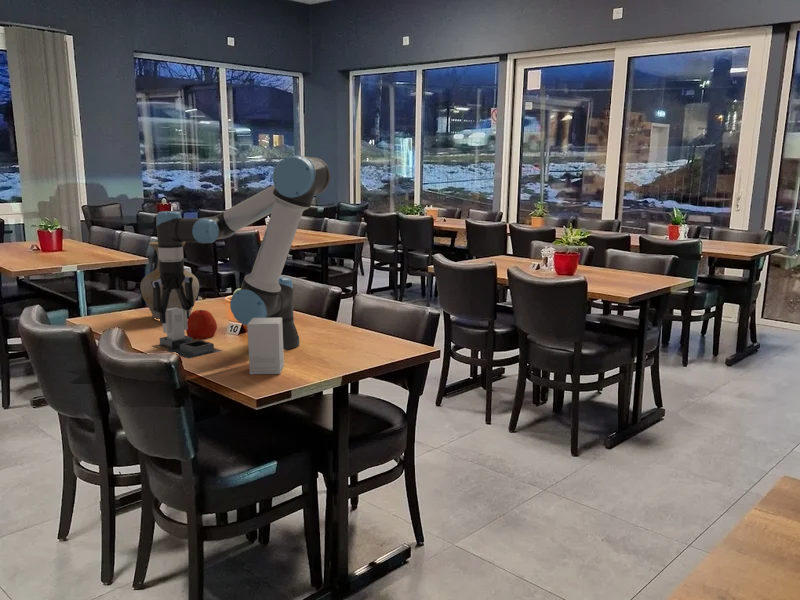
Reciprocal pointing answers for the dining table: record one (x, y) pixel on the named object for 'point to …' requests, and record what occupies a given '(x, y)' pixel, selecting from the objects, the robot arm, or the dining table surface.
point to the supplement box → (265, 345)
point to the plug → (176, 324)
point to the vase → (148, 289)
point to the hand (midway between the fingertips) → (175, 330)
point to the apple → (201, 325)
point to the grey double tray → (187, 347)
